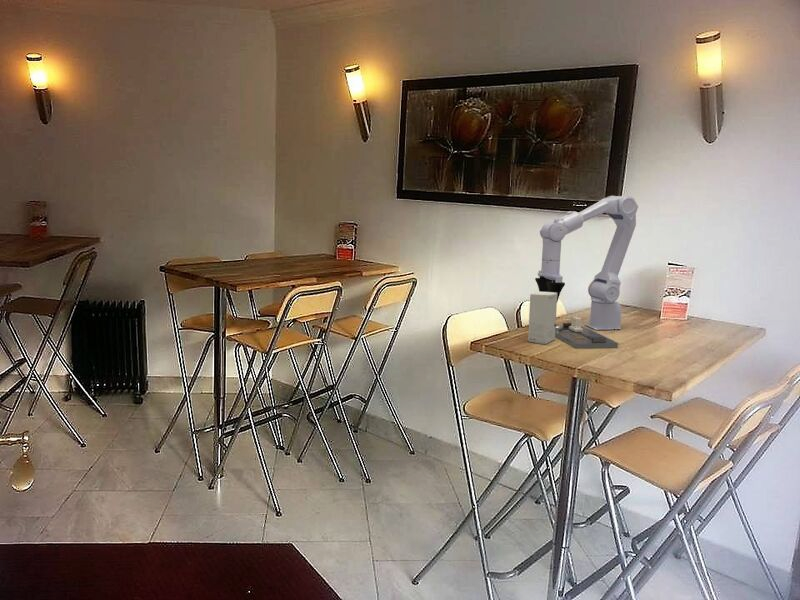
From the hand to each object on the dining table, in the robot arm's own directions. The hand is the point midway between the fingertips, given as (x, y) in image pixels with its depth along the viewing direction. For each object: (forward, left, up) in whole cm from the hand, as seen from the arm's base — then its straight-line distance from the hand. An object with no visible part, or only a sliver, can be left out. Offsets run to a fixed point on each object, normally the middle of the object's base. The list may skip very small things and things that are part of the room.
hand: (548, 301), depth 194 cm
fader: (-6, +8, -8) cm, 13 cm away
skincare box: (+8, +14, -10) cm, 19 cm away
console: (-5, +13, -10) cm, 17 cm away
